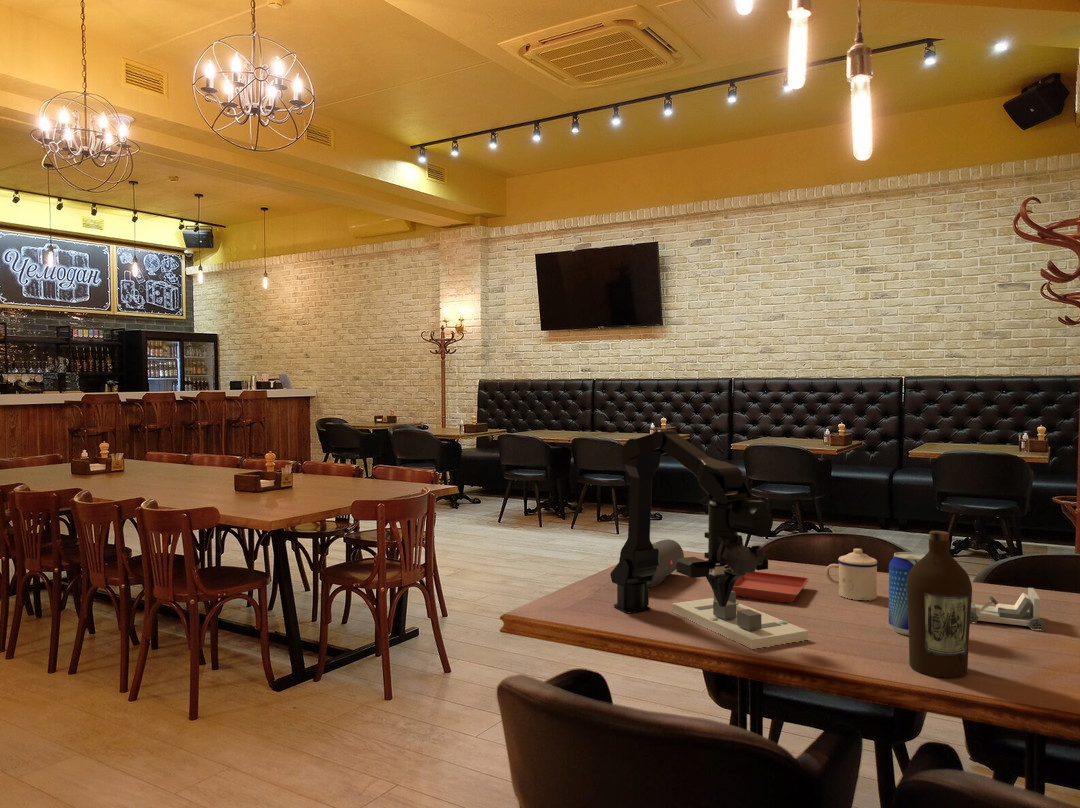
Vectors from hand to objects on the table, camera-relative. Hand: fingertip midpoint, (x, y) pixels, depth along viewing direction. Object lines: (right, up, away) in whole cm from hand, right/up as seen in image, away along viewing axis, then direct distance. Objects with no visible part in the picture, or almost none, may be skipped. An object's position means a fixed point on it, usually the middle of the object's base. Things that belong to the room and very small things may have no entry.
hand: (722, 606), depth 156 cm
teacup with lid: (+40, -7, +35) cm, 53 cm away
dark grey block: (+6, -5, +3) cm, 8 cm away
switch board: (+5, -7, +11) cm, 14 cm away
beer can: (+41, -7, +7) cm, 42 cm away
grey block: (+5, -4, +20) cm, 21 cm away
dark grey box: (+3, -5, +10) cm, 11 cm away
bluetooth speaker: (-7, -7, +48) cm, 49 cm away
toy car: (+64, -8, +16) cm, 66 cm away
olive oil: (+36, -8, -15) cm, 39 cm away
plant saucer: (+20, -7, +38) cm, 44 cm away
